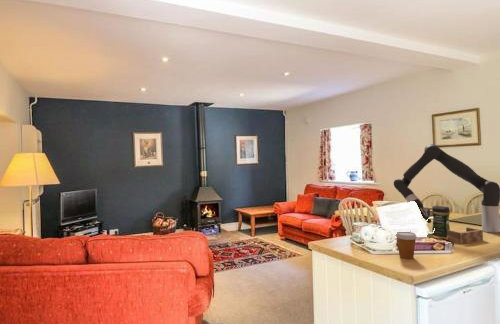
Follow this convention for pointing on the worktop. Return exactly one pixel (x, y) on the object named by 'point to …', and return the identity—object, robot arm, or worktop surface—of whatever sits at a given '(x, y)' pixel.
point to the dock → (465, 236)
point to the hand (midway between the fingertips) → (430, 222)
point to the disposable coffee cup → (406, 244)
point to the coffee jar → (440, 220)
